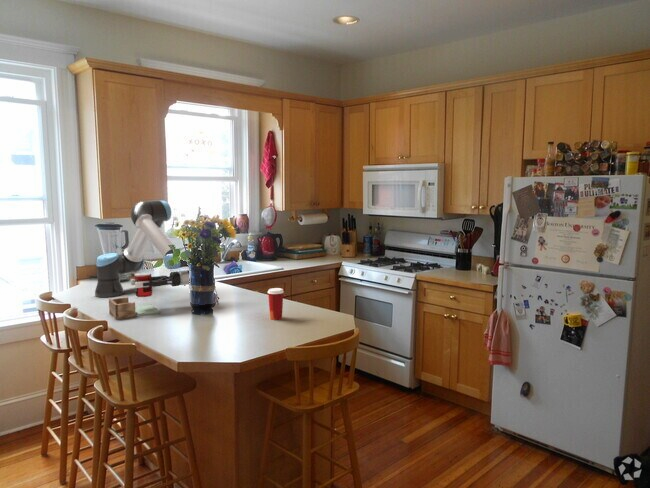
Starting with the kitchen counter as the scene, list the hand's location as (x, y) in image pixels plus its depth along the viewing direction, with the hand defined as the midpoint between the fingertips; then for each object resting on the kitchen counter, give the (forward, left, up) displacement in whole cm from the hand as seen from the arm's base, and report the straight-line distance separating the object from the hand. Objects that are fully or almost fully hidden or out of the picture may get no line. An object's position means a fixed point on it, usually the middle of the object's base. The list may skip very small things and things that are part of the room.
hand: (133, 283), depth 244 cm
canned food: (-2, +4, -7) cm, 8 cm away
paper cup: (+19, +69, -15) cm, 73 cm away
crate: (0, 0, -15) cm, 15 cm away
